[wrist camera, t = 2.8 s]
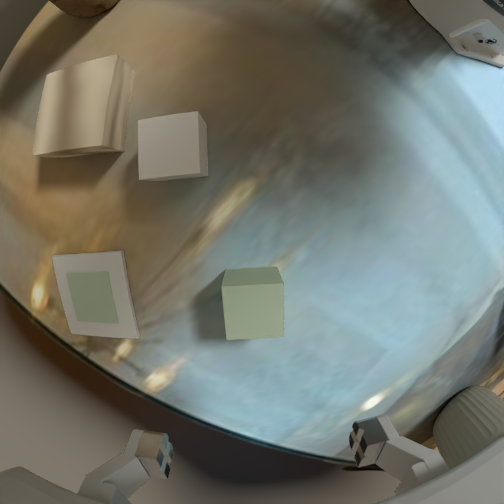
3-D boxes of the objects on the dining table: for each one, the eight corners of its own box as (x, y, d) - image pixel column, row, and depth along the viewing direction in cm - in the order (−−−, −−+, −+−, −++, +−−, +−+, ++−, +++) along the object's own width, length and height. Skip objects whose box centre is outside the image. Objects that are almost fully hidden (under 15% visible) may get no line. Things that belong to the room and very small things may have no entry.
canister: (468, 361, 31) (539, 432, 11) (497, 378, 34) (549, 430, 13) (402, 437, 35) (445, 519, 14) (444, 440, 37) (481, 499, 16)
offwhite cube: (206, 125, 24) (197, 111, 19) (208, 176, 25) (200, 172, 20) (156, 131, 24) (137, 120, 19) (158, 181, 25) (139, 179, 20)
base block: (136, 72, 22) (117, 54, 17) (125, 151, 24) (101, 145, 19) (70, 86, 22) (47, 74, 17) (59, 158, 24) (32, 155, 19)
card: (123, 250, 26) (120, 252, 25) (140, 336, 28) (137, 339, 27) (54, 255, 26) (50, 256, 25) (73, 331, 28) (70, 334, 27)
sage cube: (276, 266, 27) (283, 283, 22) (277, 312, 28) (284, 336, 23) (225, 269, 27) (221, 286, 22) (229, 315, 28) (226, 340, 23)
